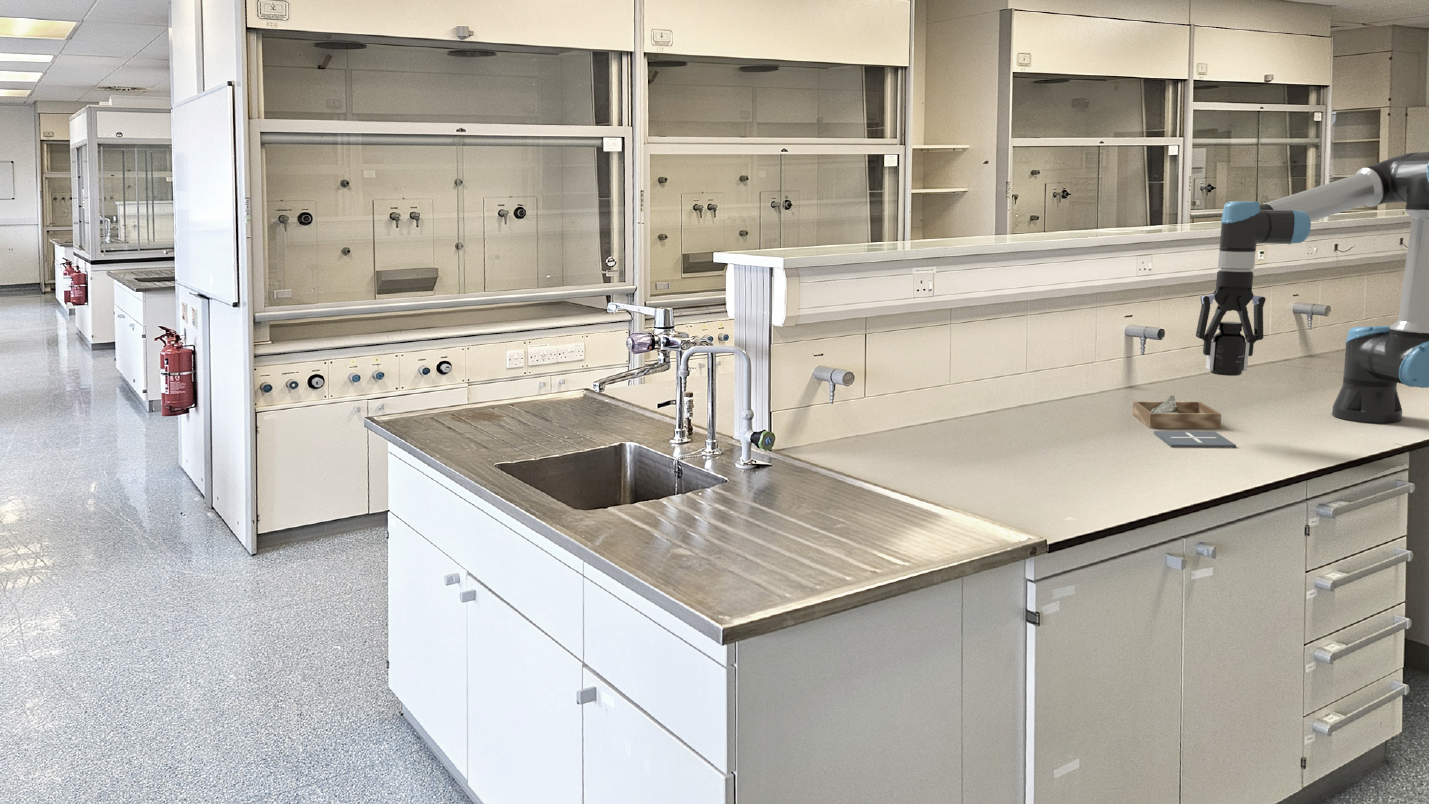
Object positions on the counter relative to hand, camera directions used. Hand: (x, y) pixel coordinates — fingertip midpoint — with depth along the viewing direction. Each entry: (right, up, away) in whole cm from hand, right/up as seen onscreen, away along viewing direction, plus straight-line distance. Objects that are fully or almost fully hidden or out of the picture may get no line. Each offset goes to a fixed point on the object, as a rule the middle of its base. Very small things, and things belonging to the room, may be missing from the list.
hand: (1226, 369), depth 255 cm
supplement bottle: (0, -1, 0) cm, 1 cm away
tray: (-3, -12, +21) cm, 24 cm away
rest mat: (-7, -16, +1) cm, 18 cm away
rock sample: (-6, -12, +23) cm, 26 cm away
